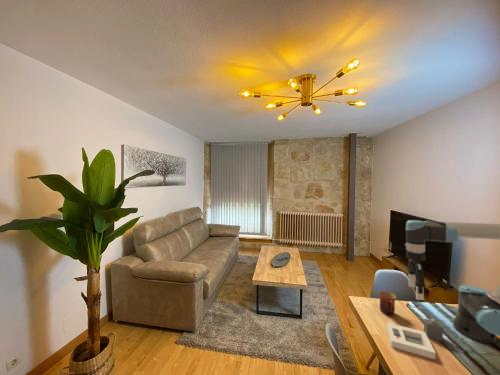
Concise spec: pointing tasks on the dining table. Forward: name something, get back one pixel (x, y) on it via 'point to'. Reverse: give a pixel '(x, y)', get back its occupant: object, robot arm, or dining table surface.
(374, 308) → the dining table surface
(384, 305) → the mug
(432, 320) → the plug
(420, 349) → the socket plate
